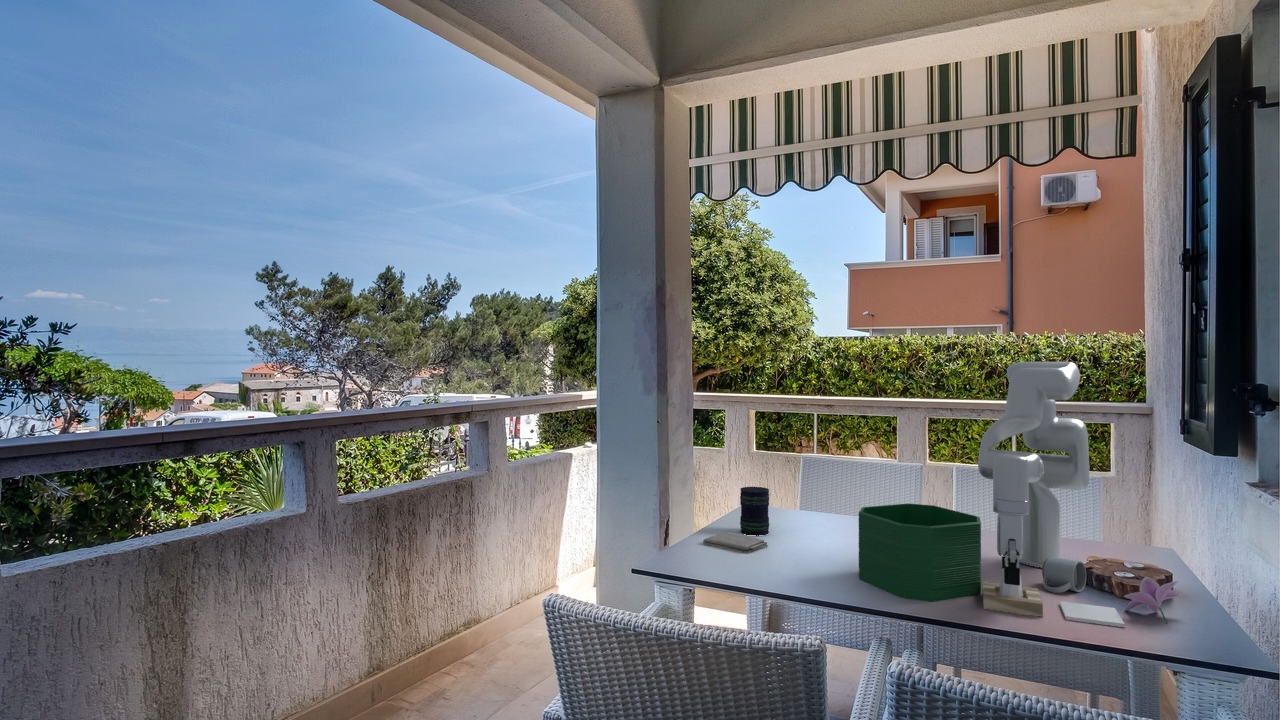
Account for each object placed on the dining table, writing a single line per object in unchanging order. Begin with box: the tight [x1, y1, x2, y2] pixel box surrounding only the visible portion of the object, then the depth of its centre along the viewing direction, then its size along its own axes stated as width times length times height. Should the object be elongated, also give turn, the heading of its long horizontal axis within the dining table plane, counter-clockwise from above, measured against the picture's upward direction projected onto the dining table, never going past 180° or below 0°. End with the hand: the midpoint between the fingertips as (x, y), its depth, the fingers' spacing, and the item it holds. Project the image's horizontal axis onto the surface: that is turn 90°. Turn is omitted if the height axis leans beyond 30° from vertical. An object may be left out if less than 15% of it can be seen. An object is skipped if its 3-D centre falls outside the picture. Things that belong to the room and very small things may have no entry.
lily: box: [1123, 576, 1183, 625], centre depth 156 cm, size 12×12×10 cm
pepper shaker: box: [999, 559, 1023, 598], centre depth 164 cm, size 5×5×11 cm
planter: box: [858, 503, 982, 603], centre depth 181 cm, size 26×26×18 cm
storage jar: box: [739, 486, 770, 537], centre depth 236 cm, size 10×10×15 cm
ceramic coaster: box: [1059, 600, 1126, 628], centre depth 157 cm, size 11×11×1 cm
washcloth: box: [702, 531, 768, 554], centre depth 219 cm, size 12×18×3 cm, turn 50°
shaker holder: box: [981, 581, 1044, 618], centre depth 164 cm, size 12×12×3 cm
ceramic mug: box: [1041, 557, 1087, 594], centre depth 177 cm, size 11×8×8 cm
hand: (1010, 578), depth 164 cm, fingers open, 9 cm apart
